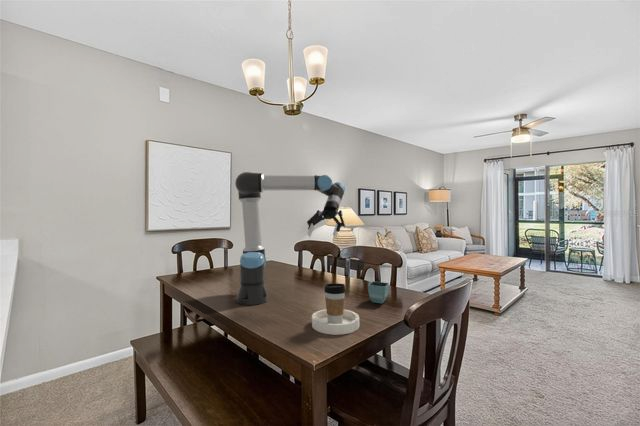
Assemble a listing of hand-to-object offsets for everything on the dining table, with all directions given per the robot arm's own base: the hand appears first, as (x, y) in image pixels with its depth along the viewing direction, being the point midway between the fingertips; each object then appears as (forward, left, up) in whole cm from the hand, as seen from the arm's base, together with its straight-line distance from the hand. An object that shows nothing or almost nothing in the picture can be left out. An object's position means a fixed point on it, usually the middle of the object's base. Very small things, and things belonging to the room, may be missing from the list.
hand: (321, 235), depth 153 cm
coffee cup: (-9, -30, -32) cm, 45 cm away
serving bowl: (-9, -30, -33) cm, 46 cm away
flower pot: (+25, -13, -33) cm, 43 cm away
